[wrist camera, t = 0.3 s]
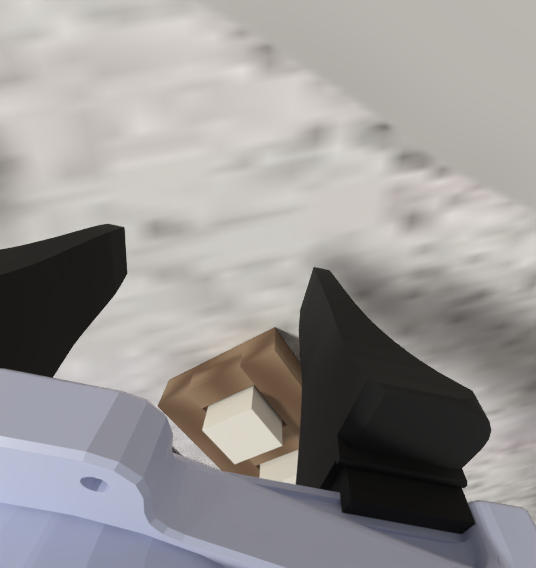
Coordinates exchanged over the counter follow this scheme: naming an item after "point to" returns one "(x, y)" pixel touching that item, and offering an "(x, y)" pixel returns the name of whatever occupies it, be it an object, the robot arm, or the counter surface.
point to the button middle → (281, 468)
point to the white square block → (243, 425)
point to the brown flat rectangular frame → (231, 379)
